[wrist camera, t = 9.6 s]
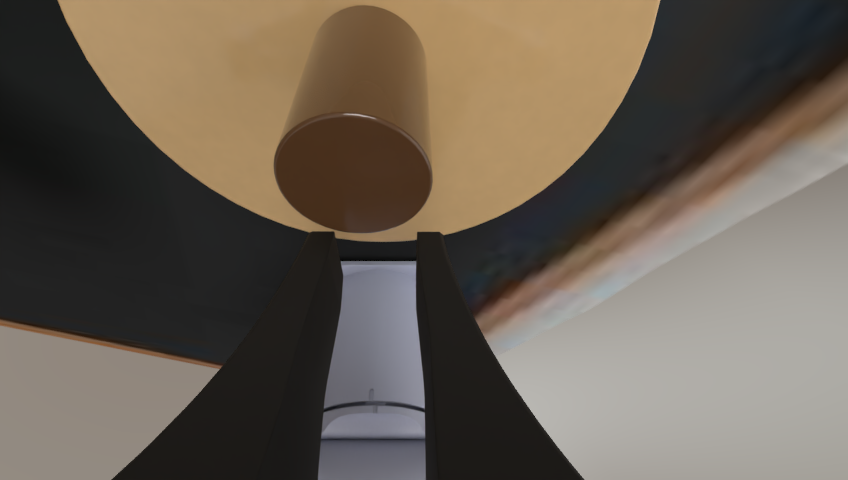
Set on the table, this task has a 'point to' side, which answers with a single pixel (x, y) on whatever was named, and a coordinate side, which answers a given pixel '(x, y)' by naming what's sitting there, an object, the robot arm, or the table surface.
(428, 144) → the lid
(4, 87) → the table surface
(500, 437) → the robot arm
